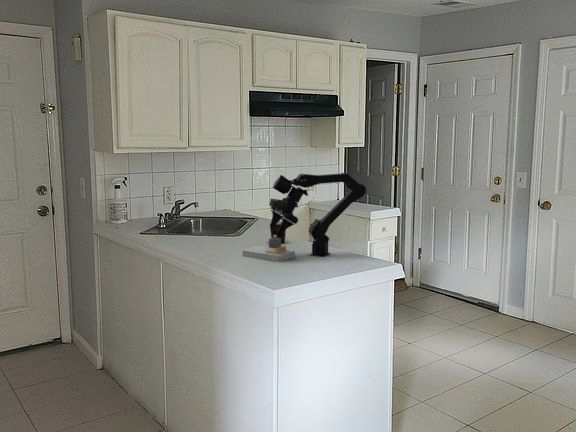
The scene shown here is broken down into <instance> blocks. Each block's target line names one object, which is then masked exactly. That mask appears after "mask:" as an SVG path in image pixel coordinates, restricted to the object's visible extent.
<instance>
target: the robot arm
mask: <svg viewBox="0 0 576 432" xmlns="http://www.w3.org/2000/svg"><path fill="white" fill-rule="evenodd" d="M332 183H343V184H344V185H345V186H346V187H347V188H348V189H347V190H346V193H345V194H344V196H343V198H342V199H340V201H338V202H337V204H335V205H334V207H333V208H332V209H330V211H328V212H327V214H326V215H325V216H324V217H323V218H321V219H317V218H315V219H314V221H313V222H311V224H309V227H308V234H309V235H310V237H312V239H313V240H312V244H311V253H310V255H311V256H316V257H326V256H329V255H331V253H330V252H329V241H330V237H329V236H328V235H327V234H326V233H327V232H328V230H329V227H330V226H331V225H332V224H333V223H334V222H335V221H336V220H337V219H338V218H339V217H340V216H341V215H342V214H343V213H344V212H345V211H346V210H347V208H349V207H350V206H351V204H353V203H355V202H356V201H359V200H360V199H361V198H363V197H364V196H366V194H367V188H366V186H365V185H364V184H362V183H359V182H358V181H357V180H355V178H353V177H352V176H351V175H350V174H349V173H347V172H341V173H328V174H311V173H310V174H309V173H300V174H298V175H297V177H296V178H295V177H294V178H293V179H291V180H290V179H288V178H286V177H285V176H284V175H282V174H280V175H279V177H277V179H276V180H275V181H274V183H273V185H272V188H273V190H275V191H277V192H279V193H280V194H282V195H285V194H287V196H286V197H283V198H282V199H278V198H270V199H269V207H270V211H271V214H272V217H271V221H270V222H271V224H270V223H269V228H270V227H271V228H273V227H274V226H275V225H276V224H277V223H278V222H282V223H281V225H280V227H279V229H278V232H277V233H278V234H280V233H281V232H283V231H284V230H286V231H287V230H288V229H289V228H290V227H292V226H294V225H297V223H298V222H299V218H298V217H297V216H296V215H294V211H295V208H299V205H298V204H299V203H300V200H301V199H302V197H303V195H304V196H306V197H308V196H309V194H308V189H306V188H311V187H314V186H316V185H320V184H321V185H323V184H332ZM303 188H304V189H303Z"/></svg>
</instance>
